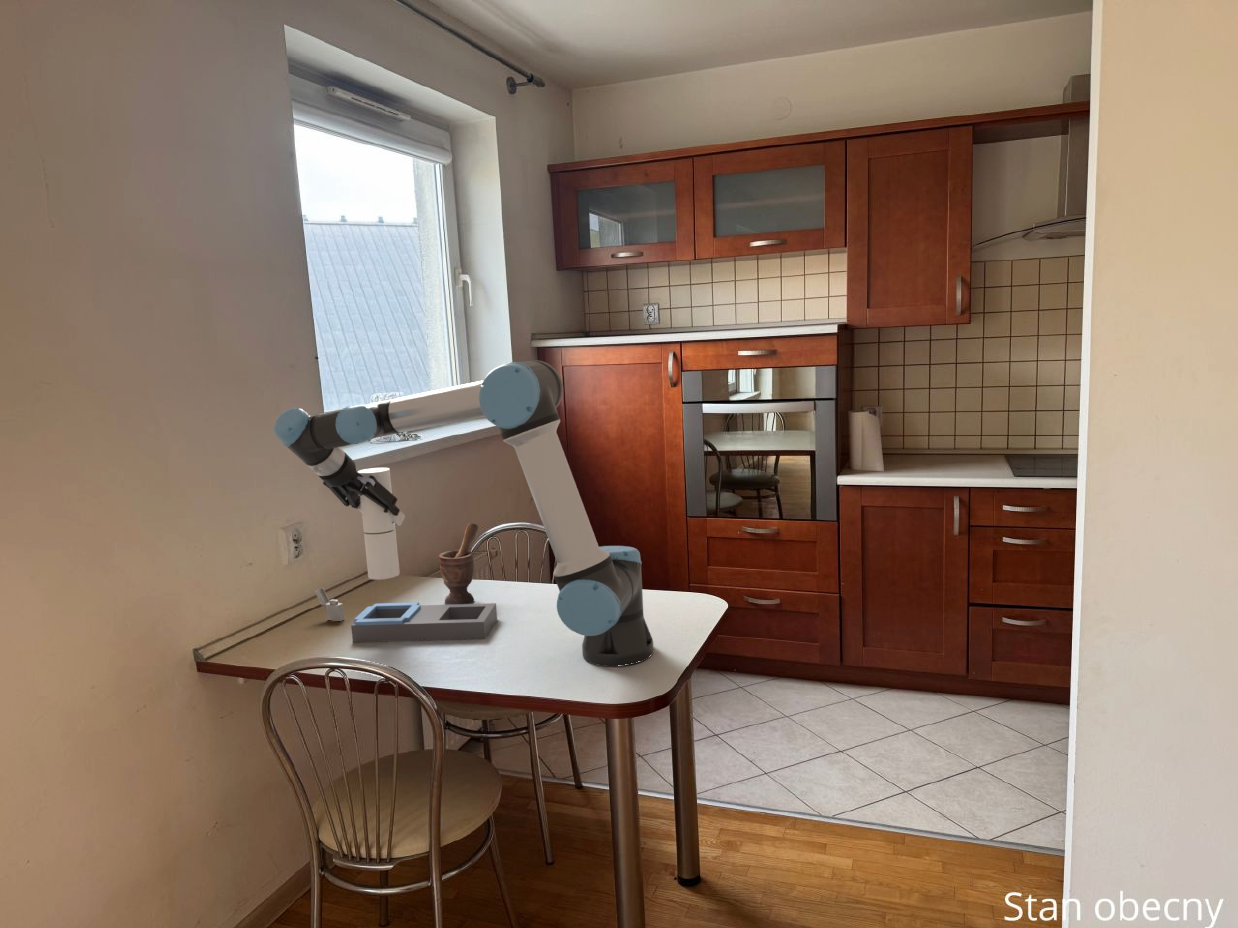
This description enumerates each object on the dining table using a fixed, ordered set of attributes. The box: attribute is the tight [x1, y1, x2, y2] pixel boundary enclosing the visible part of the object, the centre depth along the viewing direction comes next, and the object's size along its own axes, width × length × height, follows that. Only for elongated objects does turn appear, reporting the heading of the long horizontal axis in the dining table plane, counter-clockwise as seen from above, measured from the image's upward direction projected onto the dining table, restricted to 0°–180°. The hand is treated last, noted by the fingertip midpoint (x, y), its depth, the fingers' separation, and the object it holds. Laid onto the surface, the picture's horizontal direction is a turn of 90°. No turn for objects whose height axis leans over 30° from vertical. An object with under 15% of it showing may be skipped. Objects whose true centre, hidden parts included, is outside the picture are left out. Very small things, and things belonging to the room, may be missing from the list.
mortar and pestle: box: [438, 522, 479, 605], centre depth 219 cm, size 12×9×20 cm
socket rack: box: [350, 601, 498, 643], centre depth 200 cm, size 31×13×5 cm, turn 86°
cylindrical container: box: [357, 467, 401, 581], centre depth 196 cm, size 7×7×25 cm
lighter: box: [314, 587, 345, 622], centre depth 211 cm, size 7×2×8 cm, turn 66°
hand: (388, 519), depth 199 cm, fingers closed on cylindrical container, 7 cm apart
